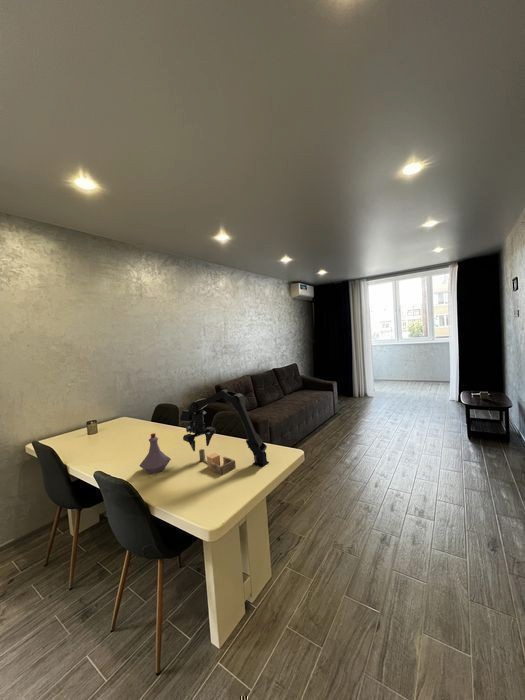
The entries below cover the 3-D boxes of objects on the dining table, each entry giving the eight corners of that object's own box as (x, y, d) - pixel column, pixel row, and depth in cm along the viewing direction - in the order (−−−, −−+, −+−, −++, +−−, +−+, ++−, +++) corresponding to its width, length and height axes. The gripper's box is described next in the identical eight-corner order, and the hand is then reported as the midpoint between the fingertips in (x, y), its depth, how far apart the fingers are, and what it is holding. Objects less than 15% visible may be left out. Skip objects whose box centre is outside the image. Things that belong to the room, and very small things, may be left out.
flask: (140, 467, 152) (137, 432, 151) (171, 460, 158) (168, 427, 157) (138, 480, 136) (135, 441, 136) (172, 472, 142) (169, 435, 142)
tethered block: (220, 466, 146) (219, 455, 146) (212, 469, 142) (211, 458, 142) (204, 458, 157) (204, 448, 157) (197, 461, 154) (196, 451, 154)
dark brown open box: (235, 467, 142) (235, 460, 142) (221, 475, 135) (221, 467, 135) (225, 463, 148) (224, 456, 148) (210, 470, 141) (210, 463, 141)
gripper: (204, 416, 167) (206, 440, 167) (177, 424, 153) (179, 451, 154) (215, 418, 159) (217, 444, 160) (187, 427, 146) (189, 455, 146)
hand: (200, 448), depth 155 cm, fingers open, 9 cm apart
